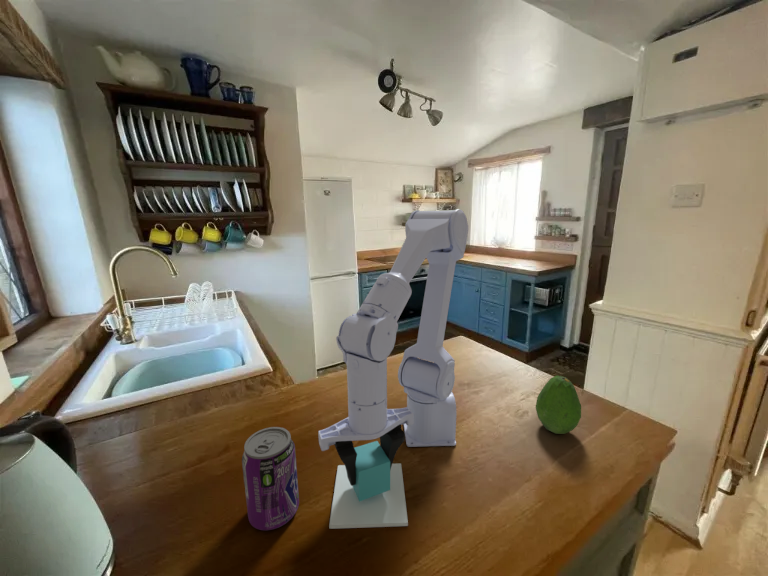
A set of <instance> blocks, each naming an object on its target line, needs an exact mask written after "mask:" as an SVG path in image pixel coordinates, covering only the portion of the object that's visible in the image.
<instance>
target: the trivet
mask: <svg viewBox="0 0 768 576" xmlns="http://www.w3.org/2000/svg"><path fill="white" fill-rule="evenodd" d="M336 470H337V471H336V476H335V483H334V488H333V489H334V490H333V492H334V493H333V498H332V503H331V510H330V518H329V525H328V527H329V529H335V530H336V529H357V528H359V529H360V528H362V529H363V528H365V529H366V528H385V527H386V528H387V527H388V528H389V527H390V528H393V527H408V526H409V522H408V521H409V520H408V519H409V518H408V512H407V511H408V510H407V503H406V495H405V485H404V478H403V477H404V476H403V469H402V463H392V466H391V470H390V490H389V491H386V492H383V493H381V494H378V495H375V496H373V497H370V498H368V499H365V500H362V501H360V502H359V500H358V498H357V495H356V493H355V491H354V488H353V486H351V484H350V482H349V479H348V477H347V471H346V467H345V465H344V464H339V465H337V469H336Z"/></svg>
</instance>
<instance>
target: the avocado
mask: <svg viewBox="0 0 768 576" xmlns="http://www.w3.org/2000/svg"><path fill="white" fill-rule="evenodd" d="M535 411H536V416H537V419H538V420H539V421H540V423H541V424H542V425H543V427H544V428H545V429H546V430H547V431H549V432H552V433H554V434H562V435H563V434H567V433H569V432H570V433H571V432H572V431H573V430H575V429H576V427H577V426H578V424H579V423H580V420H581V418H582V405H581V402H580V398H579V395H578V393H577V391H576V388H575V386H574V384H573V383H572V381H571V380H570V379H568V378H567V377H566V376H562V375H554V376H553V377H551V378H549V379H548V380H547V382H546V383H545V385H544V386H543V388H541V390H540V392H539V394H538V396H537V397H536V402H535Z"/></svg>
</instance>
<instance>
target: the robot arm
mask: <svg viewBox="0 0 768 576" xmlns="http://www.w3.org/2000/svg"><path fill="white" fill-rule="evenodd" d="M404 227H405V228H404V230H405V239H404V241H403V244H402V245H401V248H400V249H399V252H398V254H397V256H396V259H395V260H394V263H393V265H392V267H391V269H390V271H389V272H385V273H381V274H380V275H379V276H378V277H377V278H376V281H375V283H374V284H373V286H372V287H371V288H370V291H369V292H368V293H367V295H366V297H365V299H364V300H363V302H362V303H361V305H360V307H359V309H357V312H356V313H352V314H351V315H349V316H348V317H346V318H345V319H344V320H343V321H342V323H341V325H340V326H339V329H338V335H337V336H336V339H335V340H336V344H337V347H338V349H339V350H340V351H341V352H342V358H343V359H342V361H343V362H344V364H346V376H347V377H346V380H347V381H346V382H347V409H348V410H347V411H348V412H347V413H348V416H347V417H346V418H344V419H341V420H340V421H338V422H336V423H334V424H332V425H330V426H328V427H325V428H324V429H320V430H318V435H317V436H318V437H317V438H318V444H319V447H320V450H321V452H325V451H328V450H329V449H330V447H331V446H334V447H335V450H336V452H337V455H338V456H339V459H340V460H341V462H342V463H343V465H345V467H346V471H347V477H348V479H349V482H350V484H351V486H353V485H356V472H355V465H356V457H357V453H356V451H355V449H354V448H355V447H354V443H353V441H371V440H372V441H373V440H376V439H379V441H380V443H379V444H380V446H381V448H382V449H383V451H384V452H385V454H386V456H387V457H388V459H389V460H390V470H391V466H392V464H394V459H395V457H396V454H397V452H398V450H399V448H401V445H403V443H404V442H406V446H407V447H408V448H409V447H410V448H412V447H417V448H418V447H420V448H421V447H444V446H445V447H450V446H451V447H453V446H456V445H457V441H456V435H457V434H456V432H457V431H456V430H457V404H456V397H455V395H454V393H453V389H454V385H455V378H456V377H455V366H456V364H455V361H456V360H455V359H454V358H453V356H452V355H451V354H450V353H449V352H448V351H447V350H446V349H445V347H444V341H445V334H446V333H445V332H446V327H447V321H448V314H449V308H450V300H451V295H452V289H453V284H454V277H455V270H456V266H457V265H456V264H457V261H459V260H461V259H464V257H465V252H466V247H467V240H468V234H469V224H468V219H467V216H466V213H465V212H464V211H463V210H462V209H460V208H456V209H453V210H452V209H451V210H450V209H448V210H445V209H444V210H419V209H416V210H414V211H412V212H411V213H410V215H409V217H407V221H405V225H404ZM425 260H427V262H428V269H427V277H426V283H425V289H424V296H423V302H422V308H421V313H420V315H421V316H420V320H419V327H418V333H417V337H416V338H417V339H416V343H415V344H413V345H411V346H408V348H406V349H405V350H404V353H403V357H402V359H401V362H400V364H399V366H398V370H397V379H398V384H399V385H400V386H401V387H403V393H405V394H407V395H406V407H400V408H388V357H389V356H390V354H391V353H392V351H393V350H394V347H395V344H396V341H397V340H396V338H397V332H398V329H399V323H398V320H399V318H400V316H401V315H402V313H403V311H404V309H405V307H406V306H407V303H408V301H409V299H411V296H412V291H413V290H412V287H411V285H410V282H411V281H412V279H413V278H414V276H415V275H416V274H417V272H418V270H419V269H420V267H421V266H422V264H423V263H424V261H425ZM402 425H403V428H402ZM403 429H404V430H403Z"/></svg>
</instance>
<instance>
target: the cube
mask: <svg viewBox="0 0 768 576" xmlns="http://www.w3.org/2000/svg"><path fill="white" fill-rule="evenodd" d="M354 449H355V451H356V453H357V457H356V465H355V472H356V485H353V488H354V491H355V493H356V495H357V498H358V500H359V502H360V501H362V500H365V499H368V498H370V497H373V496H375V495H378V494H381V493H383V492H386V491H389V490H390V460H389V459H388V457H387V456H386V454H385V452H384V451H383V449H382V448H381V445H380V443H379V441H378V440H375V441H371V442H368V443H365V444H362V445H358V446H356V447H354Z"/></svg>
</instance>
